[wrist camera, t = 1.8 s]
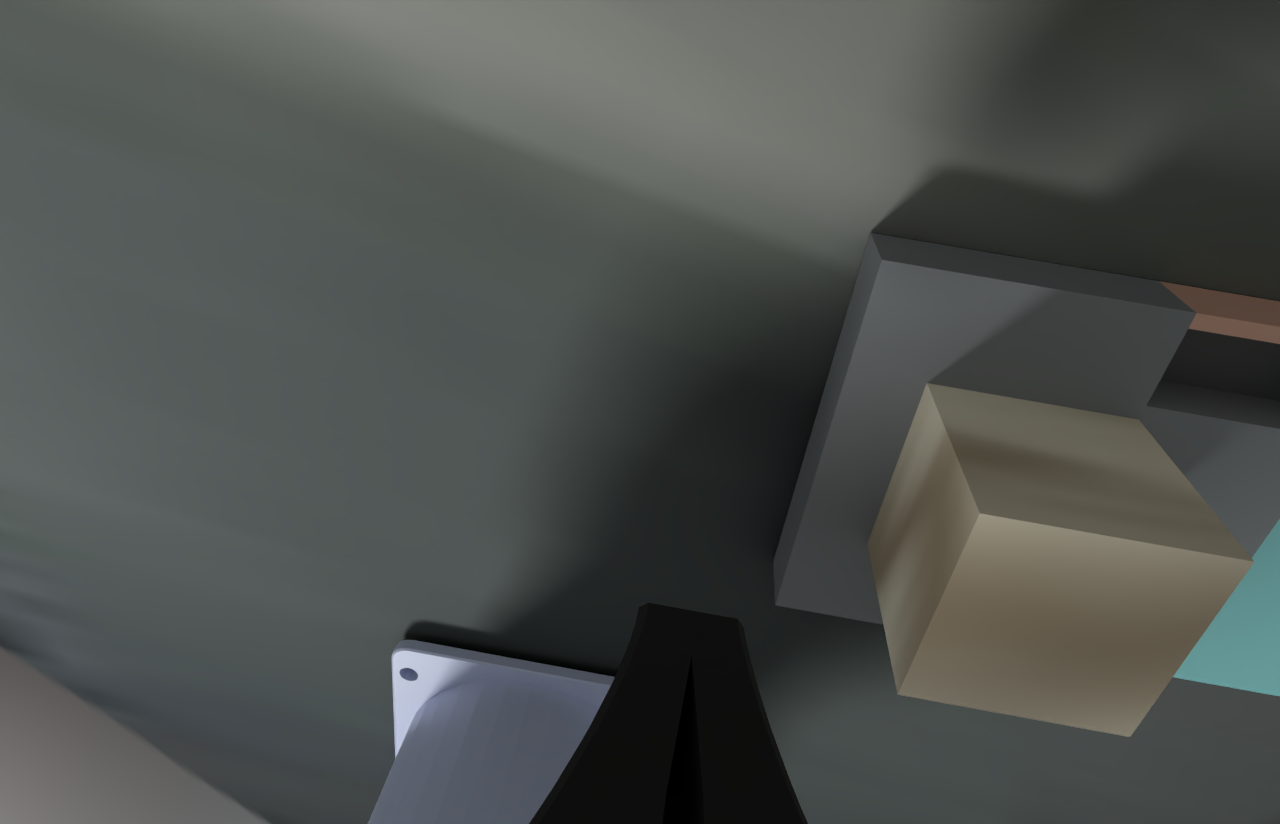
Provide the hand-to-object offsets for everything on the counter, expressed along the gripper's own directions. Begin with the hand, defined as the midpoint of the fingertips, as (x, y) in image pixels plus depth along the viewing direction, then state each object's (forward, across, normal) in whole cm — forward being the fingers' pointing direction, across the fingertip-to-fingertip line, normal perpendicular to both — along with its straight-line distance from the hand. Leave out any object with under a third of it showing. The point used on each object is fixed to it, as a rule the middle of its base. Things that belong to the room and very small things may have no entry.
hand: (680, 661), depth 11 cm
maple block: (+6, -6, 0) cm, 8 cm away
